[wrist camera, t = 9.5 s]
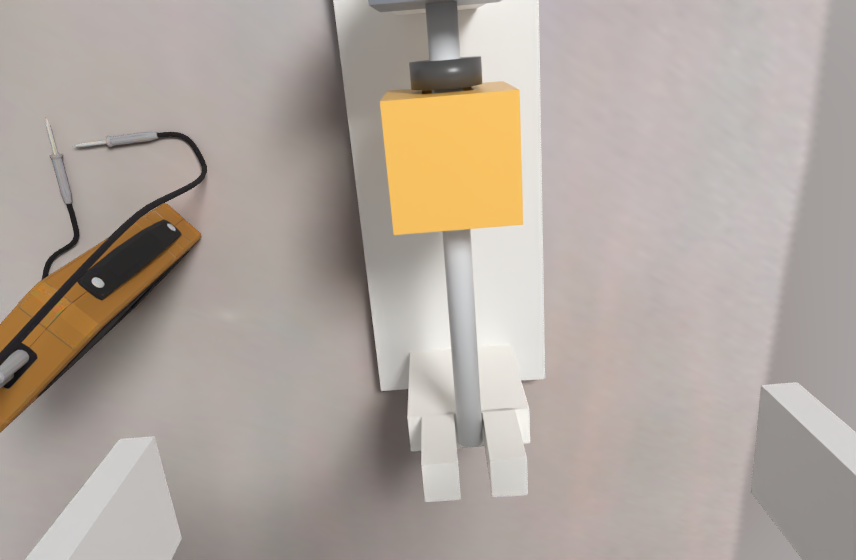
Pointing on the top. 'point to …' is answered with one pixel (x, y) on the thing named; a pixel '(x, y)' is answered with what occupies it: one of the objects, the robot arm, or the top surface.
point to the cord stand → (450, 238)
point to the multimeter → (88, 289)
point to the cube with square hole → (453, 158)
